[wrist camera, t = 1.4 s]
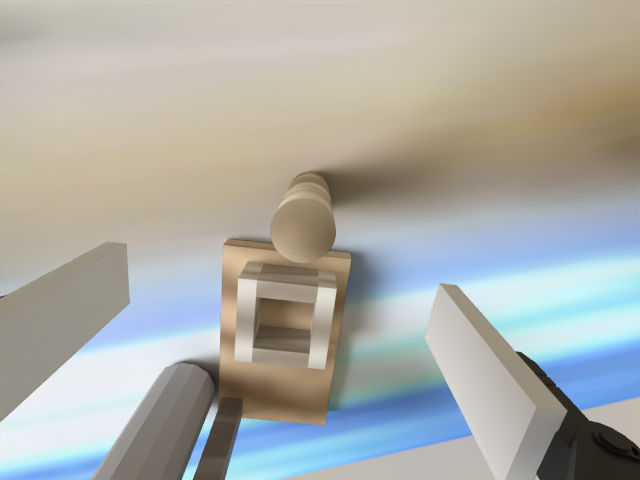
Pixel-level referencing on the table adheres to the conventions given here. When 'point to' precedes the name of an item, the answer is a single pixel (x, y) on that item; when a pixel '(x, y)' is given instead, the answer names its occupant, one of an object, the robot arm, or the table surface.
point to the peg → (304, 220)
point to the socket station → (274, 342)
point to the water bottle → (162, 428)
